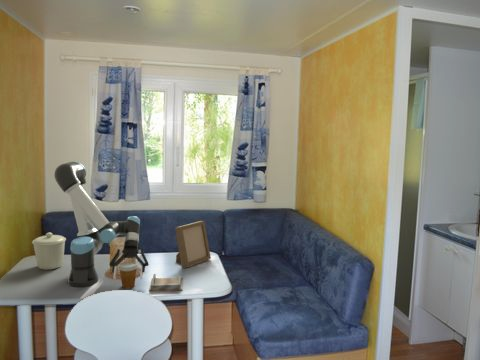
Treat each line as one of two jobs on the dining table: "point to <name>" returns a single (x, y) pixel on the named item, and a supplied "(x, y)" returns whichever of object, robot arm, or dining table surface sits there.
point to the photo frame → (192, 244)
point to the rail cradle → (166, 284)
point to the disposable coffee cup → (128, 274)
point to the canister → (49, 251)
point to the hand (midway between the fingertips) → (127, 278)
